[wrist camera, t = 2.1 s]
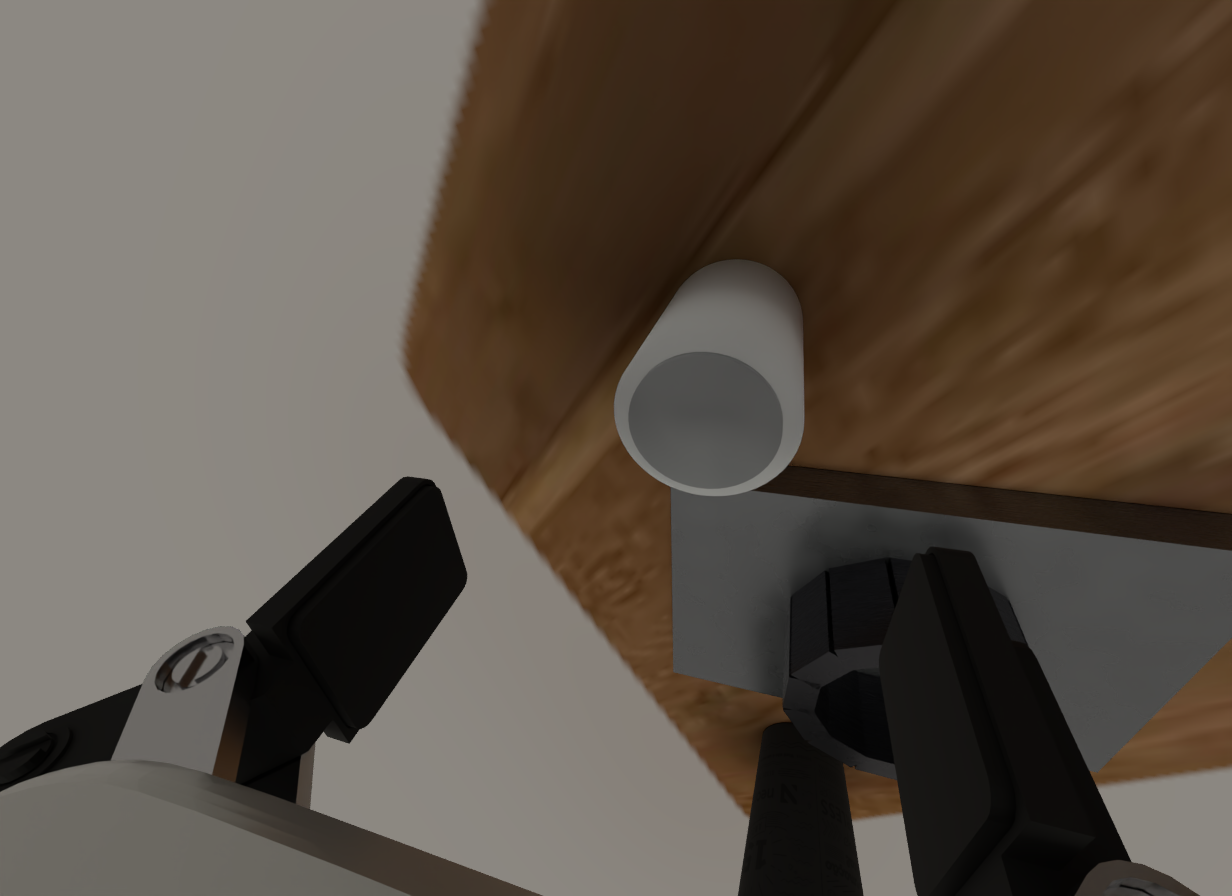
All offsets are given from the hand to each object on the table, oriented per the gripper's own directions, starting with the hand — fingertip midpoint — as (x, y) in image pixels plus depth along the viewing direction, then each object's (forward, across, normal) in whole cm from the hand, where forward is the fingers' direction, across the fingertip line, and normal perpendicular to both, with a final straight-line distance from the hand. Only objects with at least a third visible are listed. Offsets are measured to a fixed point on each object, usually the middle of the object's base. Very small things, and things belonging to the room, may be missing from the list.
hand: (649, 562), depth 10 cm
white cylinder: (+12, 0, -1) cm, 12 cm away
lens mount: (+12, -8, +12) cm, 19 cm away
